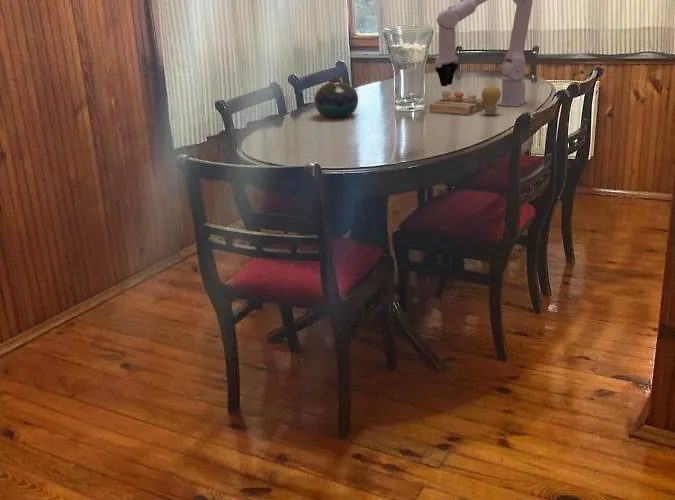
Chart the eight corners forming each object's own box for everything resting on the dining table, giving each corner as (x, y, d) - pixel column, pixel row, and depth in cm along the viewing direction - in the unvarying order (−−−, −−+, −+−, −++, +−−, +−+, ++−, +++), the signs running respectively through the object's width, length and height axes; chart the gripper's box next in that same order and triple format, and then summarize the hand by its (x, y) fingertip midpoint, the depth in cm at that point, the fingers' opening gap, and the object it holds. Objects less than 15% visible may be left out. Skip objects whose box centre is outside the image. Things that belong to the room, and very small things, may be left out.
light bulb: (500, 116, 251) (501, 86, 248) (480, 116, 253) (481, 87, 249) (499, 112, 257) (501, 83, 253) (481, 112, 258) (482, 83, 255)
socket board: (449, 104, 275) (449, 96, 274) (487, 107, 267) (487, 98, 266) (429, 112, 263) (429, 104, 262) (468, 115, 255) (468, 107, 254)
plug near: (469, 100, 263) (469, 92, 262) (477, 101, 261) (478, 93, 260) (465, 102, 261) (465, 94, 259) (474, 102, 259) (474, 94, 258)
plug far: (444, 98, 268) (444, 91, 267) (452, 99, 267) (452, 91, 266) (440, 100, 266) (440, 92, 265) (448, 101, 264) (448, 93, 263)
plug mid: (456, 99, 266) (456, 91, 265) (464, 100, 264) (465, 92, 263) (452, 101, 263) (452, 93, 262) (461, 101, 261) (461, 94, 260)
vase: (308, 120, 259) (306, 82, 254) (325, 111, 272) (323, 75, 267) (349, 122, 253) (347, 83, 248) (364, 113, 266) (363, 75, 261)
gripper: (445, 43, 267) (445, 81, 272) (427, 48, 256) (426, 88, 261) (463, 44, 263) (462, 82, 268) (445, 49, 252) (445, 89, 257)
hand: (446, 85), depth 264 cm, fingers open, 3 cm apart
